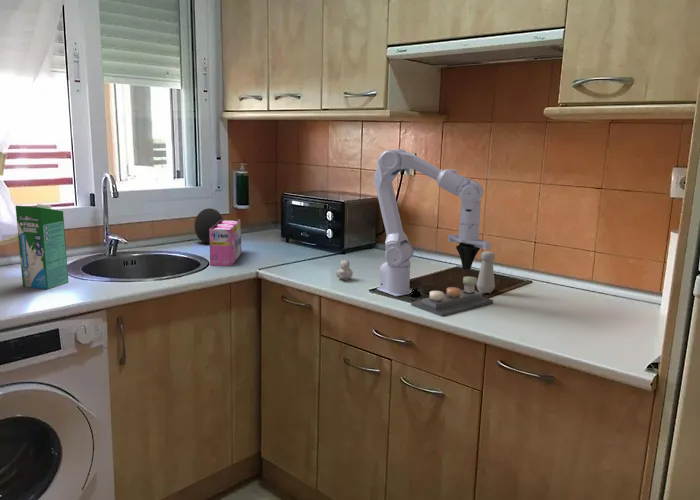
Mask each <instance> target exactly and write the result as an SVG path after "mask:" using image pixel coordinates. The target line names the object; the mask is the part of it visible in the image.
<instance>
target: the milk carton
mask: <svg viewBox="0 0 700 500" xmlns="http://www.w3.org/2000/svg"><path fill="white" fill-rule="evenodd" d="M15 214H16V225H17V226H16V227H17V239H18V248H19V259H20V271H21V280H22V281H21V282H22V287H25V288H32V289H41V290H50V289H52V288H55V287H58V286H61V285H65V284H68V283H69V272H68V258H67V245H66V234H65V233H66V232H65V220H64V211H63V210H59V209H53V208H52V205H48V204H41V203H37V204H36V206H29V205H15Z"/></svg>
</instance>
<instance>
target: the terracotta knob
mask: <svg viewBox="0 0 700 500" xmlns="http://www.w3.org/2000/svg"><path fill="white" fill-rule="evenodd" d="M460 291H461V288H459V287H455V286H450V287H447V288H446V293H445V294H447V295H448V296H449V297H452V298H455V297H458V296H460Z"/></svg>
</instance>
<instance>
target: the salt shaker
mask: <svg viewBox="0 0 700 500" xmlns="http://www.w3.org/2000/svg"><path fill="white" fill-rule="evenodd" d="M495 256H496V255H495V252H492V251H486V250H484V251H483V252H481V253H480V259H481V264H480V269H479V273H478V277H477V284H476V285H475V286H476V288H477V291H479V292H481V293H483V294H485V293H489V294H492V293H493V291H494V290H495V288H496V282H495V272H494V263H493V261H494V260H495V258H496V257H495ZM491 292H492V293H491Z"/></svg>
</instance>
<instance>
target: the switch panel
mask: <svg viewBox="0 0 700 500" xmlns="http://www.w3.org/2000/svg"><path fill="white" fill-rule="evenodd" d="M483 294H484V293H481V292H478V290H476V289H475V290H474V292H472V293H468V292H464V289H460V296H458V297H455V298H452V297H449V296H448V295H447V294H446V293H444V299H442V301H438V302H436V301H433V300H431V299H430V298H429V297H426V298H422V299H419V300H414V301H411V305H410V306H413V307H414V308H417V309H420V310H422V311H426V312H429V313H431V314H434V315H437V316H440V317H445V316H448V315H452V314H456V313H461V312H463V311H464V312H465V311H468V310H473V309H476V308H480V307H484V306H488V305H492V304H493V303H494V300H493V299H490V298H488V297H484V296H483Z"/></svg>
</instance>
